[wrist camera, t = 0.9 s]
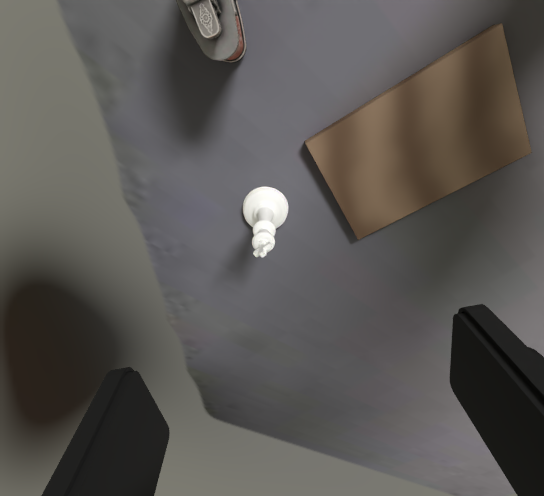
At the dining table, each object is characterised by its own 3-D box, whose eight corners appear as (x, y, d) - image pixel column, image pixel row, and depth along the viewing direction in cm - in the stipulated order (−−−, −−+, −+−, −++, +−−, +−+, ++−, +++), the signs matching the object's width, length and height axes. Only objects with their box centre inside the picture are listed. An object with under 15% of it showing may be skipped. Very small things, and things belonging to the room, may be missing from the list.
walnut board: (493, 25, 27) (501, 23, 26) (523, 150, 32) (531, 152, 31) (304, 141, 32) (305, 143, 31) (355, 235, 37) (358, 239, 36)
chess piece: (233, 203, 35) (219, 248, 26) (270, 177, 34) (269, 215, 25) (261, 236, 37) (257, 288, 28) (297, 213, 36) (304, 260, 27)
